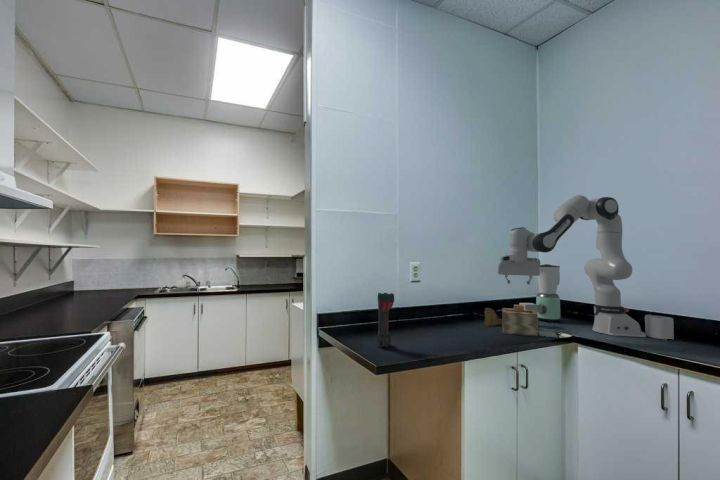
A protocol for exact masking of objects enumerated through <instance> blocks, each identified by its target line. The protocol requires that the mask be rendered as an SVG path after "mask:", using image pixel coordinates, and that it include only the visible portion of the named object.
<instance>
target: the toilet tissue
mask: <svg viewBox="0 0 720 480" xmlns="http://www.w3.org/2000/svg"><path fill="white" fill-rule="evenodd" d="M644 328H645V332H644V333H645V334H646V335H647V337H649V338H653V339H659V340H667V339H672V340H674V339H675V333H674V332H675V331H674V330H675V329H674V328H675V327H674V318H673V317H671V316H670V317H669V316H663V315H655V314H654V315H653V314H646V315H645V316H644Z"/></svg>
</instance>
